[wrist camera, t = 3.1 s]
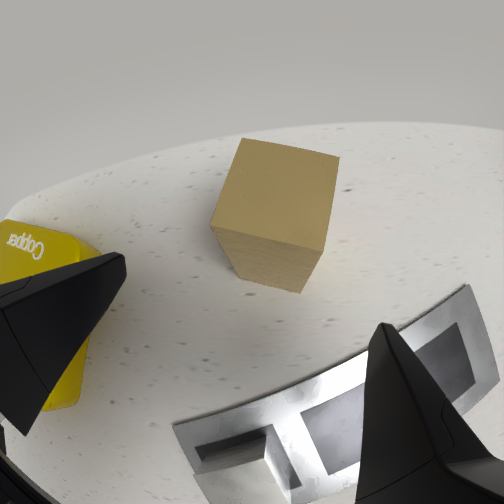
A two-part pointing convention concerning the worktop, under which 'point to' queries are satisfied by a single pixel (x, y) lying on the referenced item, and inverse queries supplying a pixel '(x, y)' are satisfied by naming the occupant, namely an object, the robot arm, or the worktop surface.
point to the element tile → (37, 261)
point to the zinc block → (244, 475)
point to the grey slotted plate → (349, 403)
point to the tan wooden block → (275, 212)
